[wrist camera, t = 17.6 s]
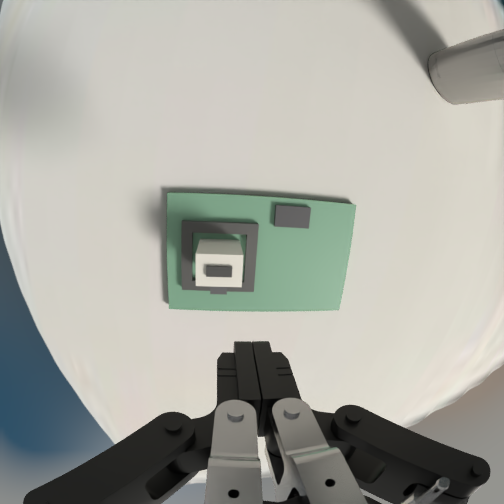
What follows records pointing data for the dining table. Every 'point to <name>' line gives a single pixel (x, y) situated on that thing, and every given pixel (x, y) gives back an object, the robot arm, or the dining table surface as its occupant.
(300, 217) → the board
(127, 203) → the dining table surface
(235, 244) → the plug
